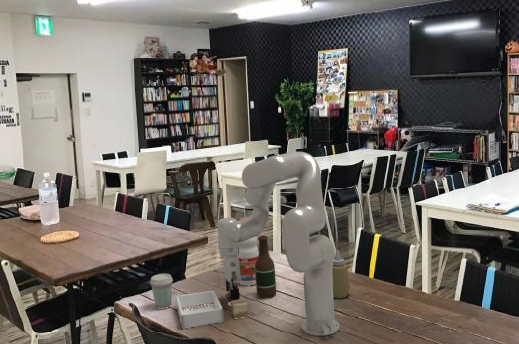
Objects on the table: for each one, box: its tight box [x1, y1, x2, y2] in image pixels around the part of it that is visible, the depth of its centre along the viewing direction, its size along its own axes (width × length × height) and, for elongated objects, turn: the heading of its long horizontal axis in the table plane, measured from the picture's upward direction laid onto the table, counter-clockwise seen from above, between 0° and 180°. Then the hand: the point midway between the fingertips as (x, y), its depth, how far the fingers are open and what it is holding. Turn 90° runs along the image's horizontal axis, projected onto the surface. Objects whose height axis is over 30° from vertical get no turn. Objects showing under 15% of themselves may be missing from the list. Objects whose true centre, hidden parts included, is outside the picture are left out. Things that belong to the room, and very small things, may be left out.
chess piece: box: [224, 280, 242, 302], centre depth 204 cm, size 6×6×12 cm
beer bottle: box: [255, 235, 277, 300], centre depth 209 cm, size 8×8×24 cm
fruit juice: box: [238, 216, 259, 286], centre depth 225 cm, size 9×9×28 cm
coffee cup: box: [149, 273, 174, 309], centre depth 205 cm, size 8×8×12 cm
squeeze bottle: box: [332, 249, 351, 299], centre depth 204 cm, size 8×8×18 cm
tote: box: [175, 289, 225, 328], centre depth 195 cm, size 20×15×5 cm
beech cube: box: [231, 298, 249, 319], centre depth 193 cm, size 5×5×5 cm
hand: (232, 294), depth 204 cm, fingers open, 8 cm apart
